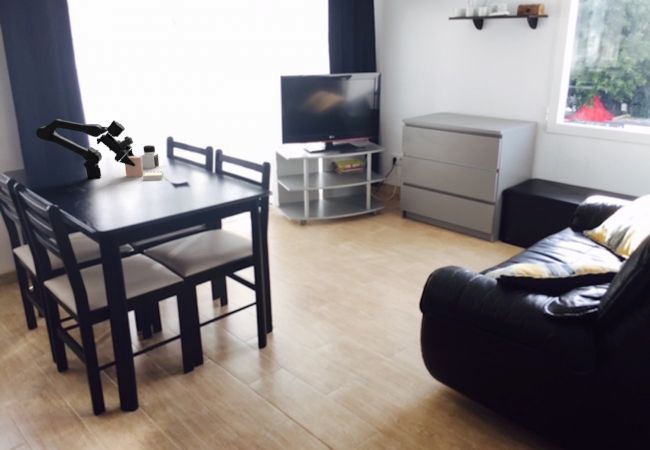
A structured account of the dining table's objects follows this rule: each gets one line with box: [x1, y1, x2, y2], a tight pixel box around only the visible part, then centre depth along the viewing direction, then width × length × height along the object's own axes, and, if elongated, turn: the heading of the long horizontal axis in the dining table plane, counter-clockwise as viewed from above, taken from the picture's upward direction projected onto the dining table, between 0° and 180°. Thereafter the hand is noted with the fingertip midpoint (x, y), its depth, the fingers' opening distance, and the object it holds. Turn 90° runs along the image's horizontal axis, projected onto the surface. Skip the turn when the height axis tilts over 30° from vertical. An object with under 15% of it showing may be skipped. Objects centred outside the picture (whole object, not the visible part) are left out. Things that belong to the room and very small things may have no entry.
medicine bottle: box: [141, 144, 160, 169], centre depth 316 cm, size 7×7×12 cm
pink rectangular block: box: [124, 155, 144, 178], centre depth 295 cm, size 8×4×10 cm, turn 98°
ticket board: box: [142, 171, 165, 181], centre depth 291 cm, size 9×8×3 cm
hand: (136, 163), depth 294 cm, fingers open, 9 cm apart
